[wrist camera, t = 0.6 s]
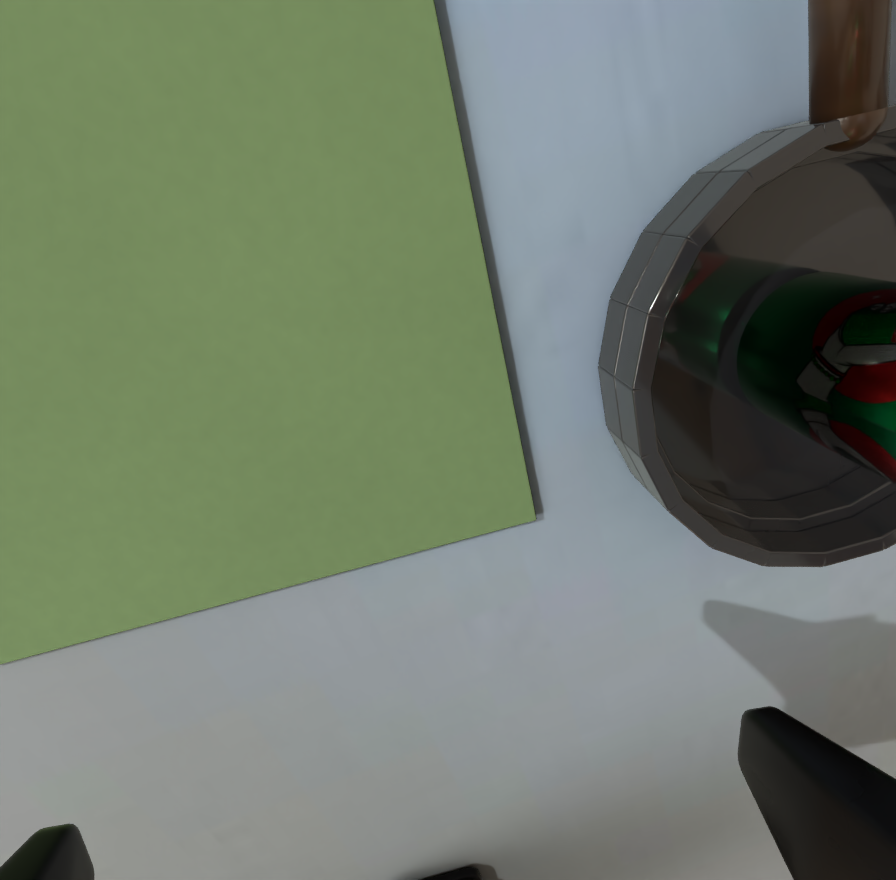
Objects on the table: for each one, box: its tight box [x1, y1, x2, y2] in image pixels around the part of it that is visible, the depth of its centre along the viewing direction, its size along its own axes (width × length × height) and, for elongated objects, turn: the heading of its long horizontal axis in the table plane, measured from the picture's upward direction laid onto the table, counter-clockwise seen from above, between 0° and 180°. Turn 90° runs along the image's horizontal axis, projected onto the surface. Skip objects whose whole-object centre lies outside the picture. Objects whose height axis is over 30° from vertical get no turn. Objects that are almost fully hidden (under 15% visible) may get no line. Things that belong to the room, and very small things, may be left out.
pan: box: [598, 104, 896, 567], centre depth 21 cm, size 14×14×3 cm
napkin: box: [0, 0, 536, 664], centre depth 19 cm, size 20×20×1 cm
